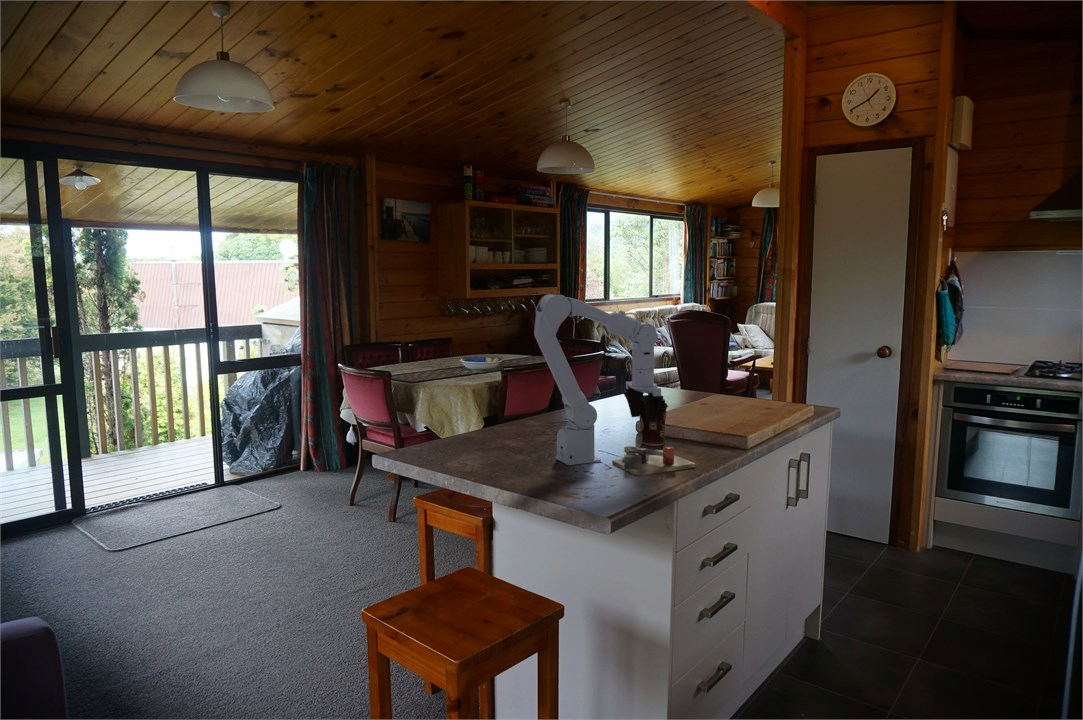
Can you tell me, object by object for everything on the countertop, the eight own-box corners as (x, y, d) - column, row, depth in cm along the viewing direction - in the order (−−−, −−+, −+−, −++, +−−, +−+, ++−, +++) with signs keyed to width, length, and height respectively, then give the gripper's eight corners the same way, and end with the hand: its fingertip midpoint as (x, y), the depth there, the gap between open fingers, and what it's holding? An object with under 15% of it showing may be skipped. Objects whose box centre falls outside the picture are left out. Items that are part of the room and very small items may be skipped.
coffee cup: (632, 444, 200) (632, 399, 199) (642, 438, 208) (642, 395, 206) (662, 447, 196) (662, 402, 195) (671, 441, 204) (671, 397, 202)
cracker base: (631, 476, 168) (631, 459, 168) (607, 464, 179) (607, 448, 179) (695, 467, 176) (695, 451, 175) (668, 456, 187) (668, 441, 186)
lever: (622, 460, 178) (622, 444, 177) (626, 458, 180) (626, 442, 180) (672, 466, 172) (672, 449, 171) (675, 463, 174) (675, 447, 174)
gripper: (671, 370, 180) (670, 422, 182) (641, 364, 194) (641, 413, 195) (647, 372, 178) (647, 425, 179) (619, 366, 191) (619, 415, 192)
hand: (642, 419), depth 187 cm, fingers open, 7 cm apart
